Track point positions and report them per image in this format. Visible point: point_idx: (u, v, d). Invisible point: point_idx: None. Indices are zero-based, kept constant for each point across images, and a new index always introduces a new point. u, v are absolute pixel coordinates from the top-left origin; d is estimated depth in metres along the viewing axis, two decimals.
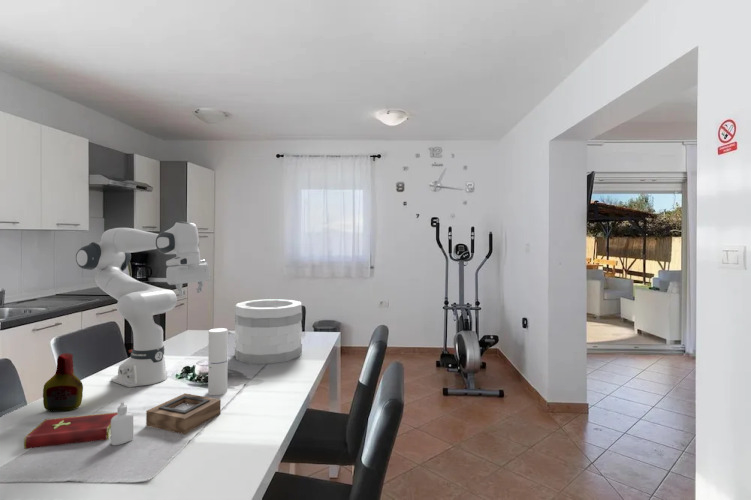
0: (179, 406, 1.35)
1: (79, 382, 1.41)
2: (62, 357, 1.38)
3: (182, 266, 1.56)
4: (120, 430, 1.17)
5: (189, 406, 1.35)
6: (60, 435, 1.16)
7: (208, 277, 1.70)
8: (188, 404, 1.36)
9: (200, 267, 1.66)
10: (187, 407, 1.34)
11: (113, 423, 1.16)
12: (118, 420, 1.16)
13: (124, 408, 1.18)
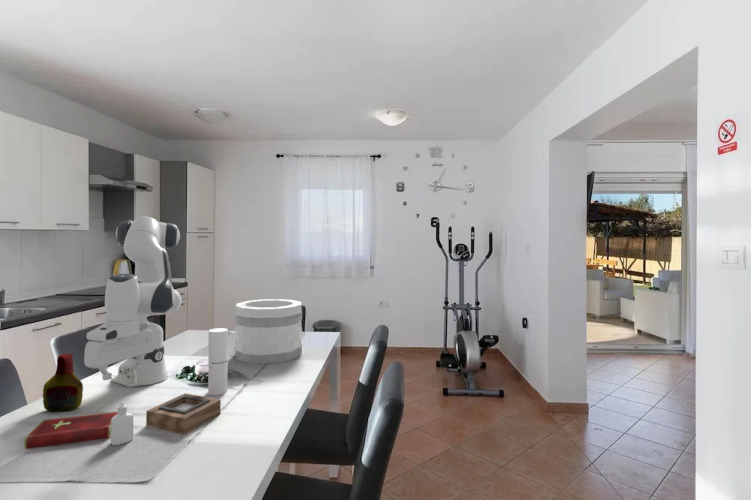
0: (179, 406, 1.35)
1: (79, 382, 1.41)
2: (62, 357, 1.38)
3: (109, 342, 1.11)
4: (120, 430, 1.17)
5: (189, 406, 1.35)
6: (62, 434, 1.16)
7: (151, 348, 1.25)
8: (188, 404, 1.36)
9: (139, 336, 1.21)
10: (187, 407, 1.34)
11: (113, 423, 1.16)
12: (118, 420, 1.16)
13: (124, 408, 1.18)
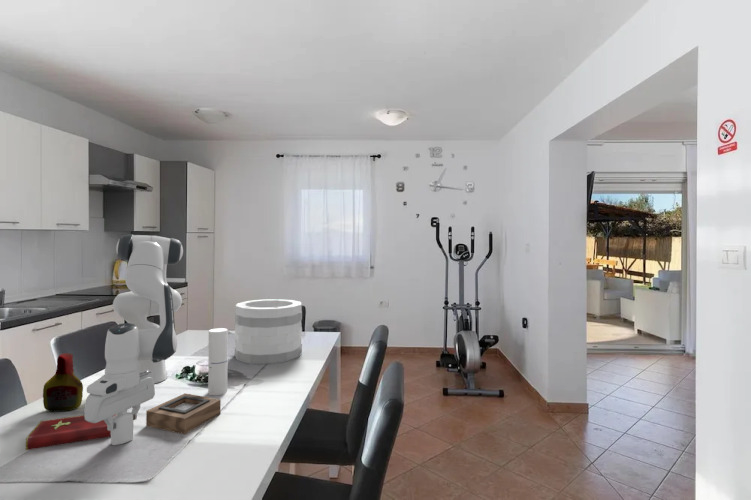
0: (179, 406, 1.35)
1: (79, 382, 1.41)
2: (62, 357, 1.38)
3: (109, 395, 1.12)
4: (120, 430, 1.17)
5: (189, 406, 1.35)
6: (64, 434, 1.17)
7: (151, 395, 1.26)
8: (188, 404, 1.36)
9: (139, 385, 1.22)
10: (187, 407, 1.34)
11: None
12: (118, 420, 1.16)
13: None
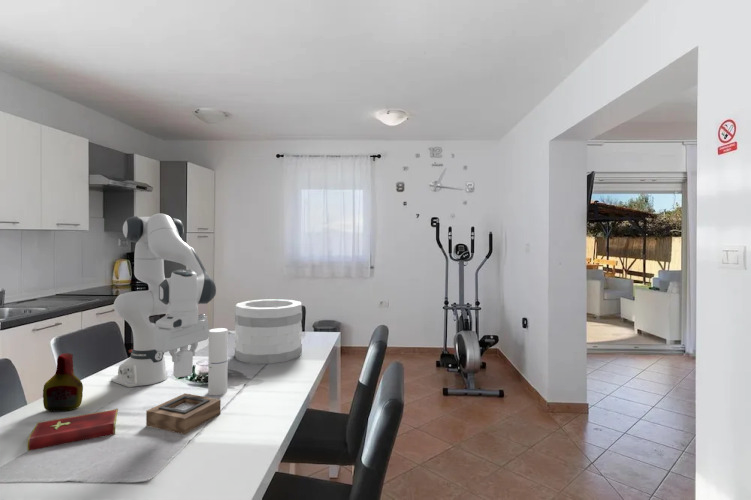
0: (179, 406, 1.35)
1: (79, 382, 1.41)
2: (62, 357, 1.38)
3: (175, 329, 1.26)
4: (182, 364, 1.31)
5: (189, 406, 1.35)
6: (66, 433, 1.17)
7: (206, 336, 1.40)
8: (188, 404, 1.36)
9: (197, 325, 1.36)
10: (187, 407, 1.34)
11: None
12: (181, 354, 1.31)
13: None
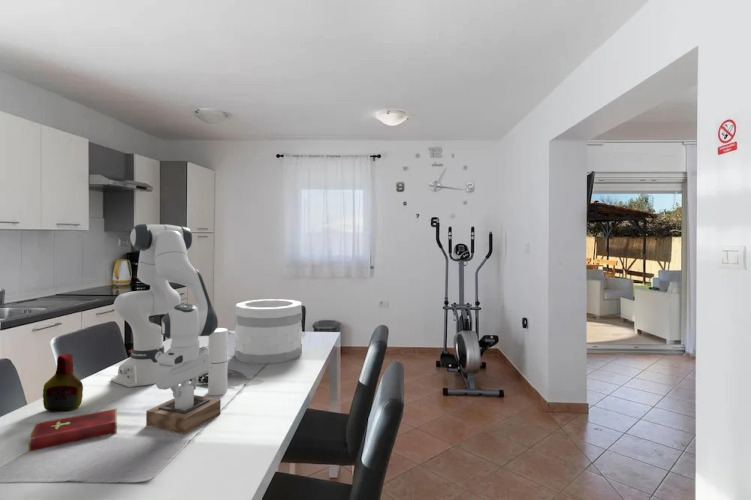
0: None
1: (79, 382, 1.41)
2: (62, 357, 1.38)
3: (176, 365, 1.27)
4: (183, 399, 1.31)
5: None
6: (68, 433, 1.17)
7: (207, 368, 1.41)
8: None
9: (198, 359, 1.37)
10: None
11: None
12: (182, 389, 1.31)
13: None
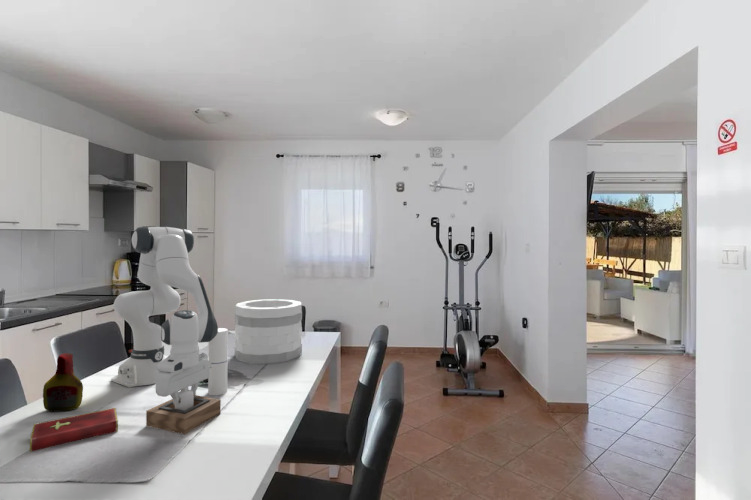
0: None
1: (79, 382, 1.41)
2: (62, 357, 1.38)
3: (176, 372, 1.26)
4: (183, 405, 1.31)
5: None
6: (69, 433, 1.17)
7: (207, 375, 1.41)
8: None
9: (198, 365, 1.37)
10: None
11: None
12: (182, 395, 1.31)
13: None
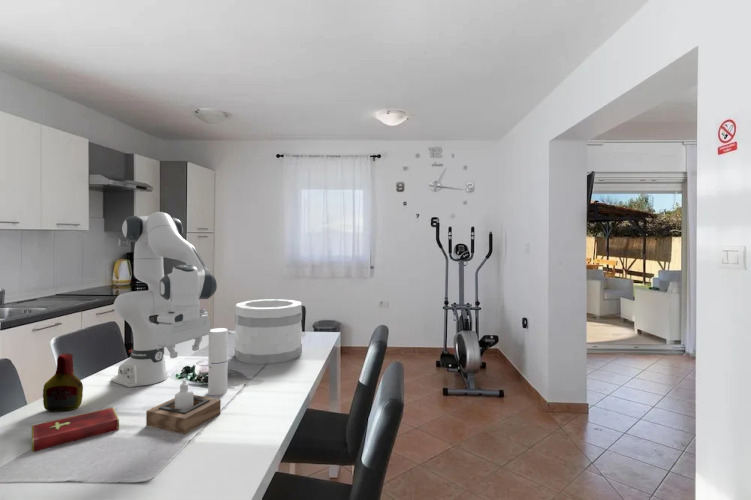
0: None
1: (79, 382, 1.41)
2: (62, 357, 1.38)
3: (176, 324, 1.26)
4: (183, 405, 1.31)
5: None
6: (71, 432, 1.18)
7: (207, 331, 1.40)
8: None
9: (199, 320, 1.36)
10: None
11: (177, 398, 1.31)
12: (181, 396, 1.31)
13: (186, 385, 1.32)
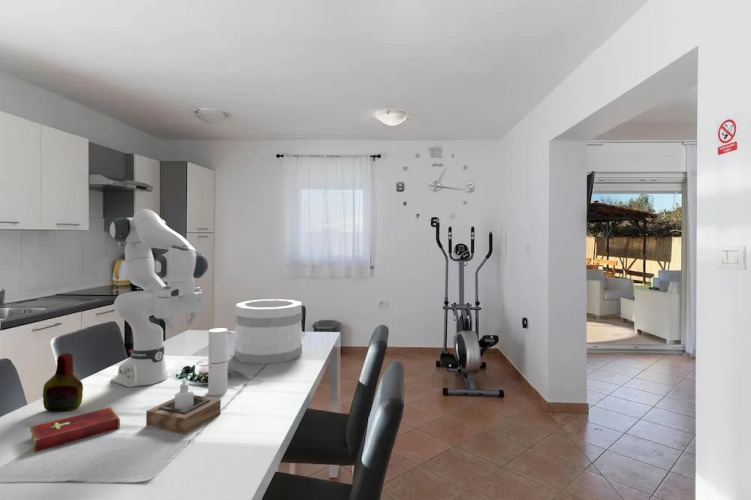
0: None
1: (79, 382, 1.41)
2: (62, 357, 1.38)
3: (173, 298, 1.37)
4: (183, 405, 1.31)
5: None
6: (72, 431, 1.18)
7: (202, 307, 1.51)
8: None
9: (193, 297, 1.47)
10: None
11: (177, 398, 1.31)
12: (181, 396, 1.31)
13: (186, 385, 1.32)
